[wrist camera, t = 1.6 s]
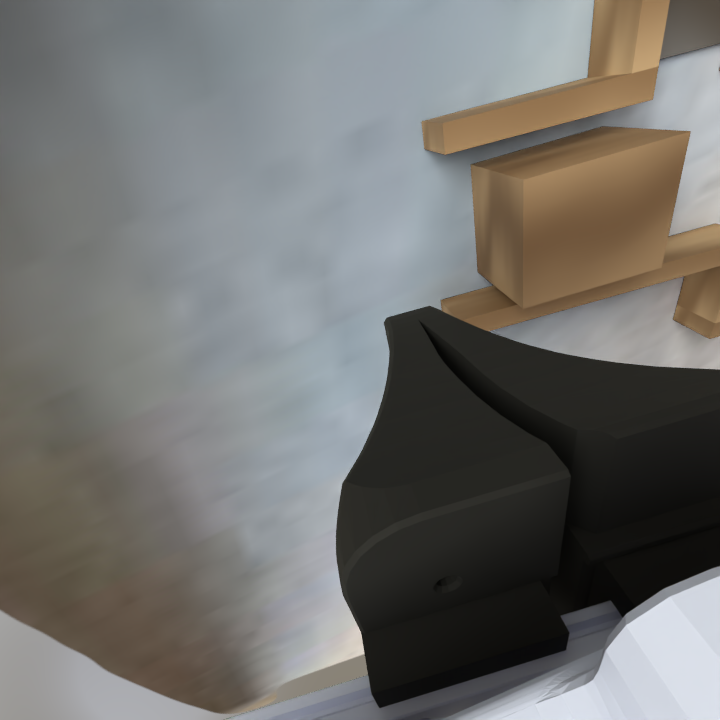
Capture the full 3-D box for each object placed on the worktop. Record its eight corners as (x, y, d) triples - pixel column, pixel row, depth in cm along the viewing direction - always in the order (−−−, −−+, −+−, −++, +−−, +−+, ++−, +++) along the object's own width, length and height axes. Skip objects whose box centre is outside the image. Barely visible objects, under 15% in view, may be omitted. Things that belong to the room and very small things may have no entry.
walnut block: (589, 237, 20) (661, 267, 16) (476, 270, 20) (522, 308, 16) (600, 126, 17) (690, 131, 14) (469, 164, 17) (523, 179, 13)
